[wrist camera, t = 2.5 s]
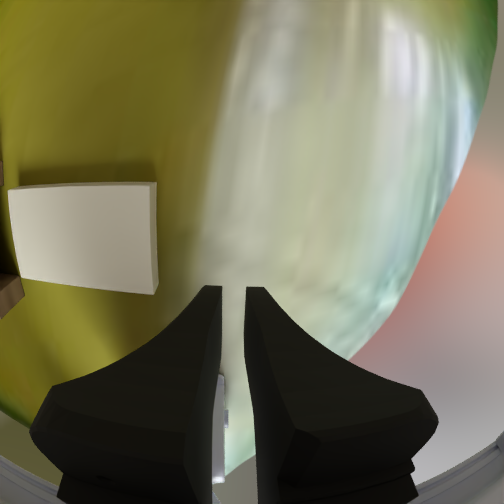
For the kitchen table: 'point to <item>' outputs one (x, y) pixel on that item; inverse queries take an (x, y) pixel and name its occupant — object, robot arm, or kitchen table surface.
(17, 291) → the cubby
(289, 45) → the kitchen table surface
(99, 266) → the tile
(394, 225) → the kitchen table surface
